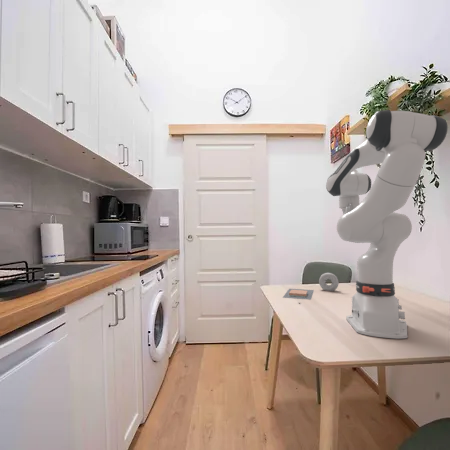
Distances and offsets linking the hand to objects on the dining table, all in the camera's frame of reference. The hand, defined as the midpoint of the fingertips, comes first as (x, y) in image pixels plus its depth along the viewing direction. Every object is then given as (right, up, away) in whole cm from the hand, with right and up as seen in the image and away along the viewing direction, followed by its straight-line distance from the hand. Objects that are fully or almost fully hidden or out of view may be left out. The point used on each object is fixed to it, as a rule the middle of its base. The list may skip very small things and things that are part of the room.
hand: (349, 233), depth 133 cm
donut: (-4, -32, +16) cm, 36 cm away
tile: (-21, -30, +10) cm, 38 cm away
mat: (-22, -32, +9) cm, 39 cm away
